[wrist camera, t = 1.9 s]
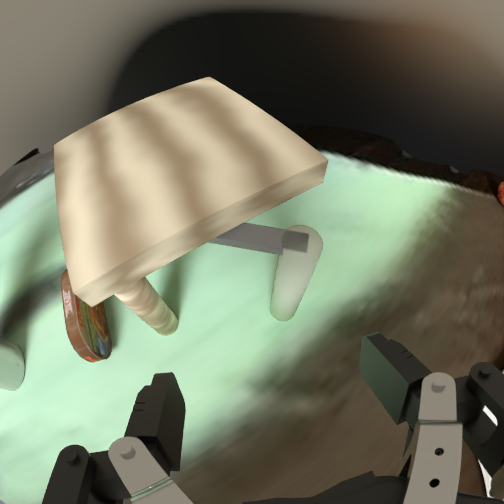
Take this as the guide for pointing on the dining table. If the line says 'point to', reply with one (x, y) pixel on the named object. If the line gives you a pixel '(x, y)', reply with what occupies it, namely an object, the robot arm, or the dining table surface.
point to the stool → (169, 187)
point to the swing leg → (281, 259)
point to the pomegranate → (501, 193)
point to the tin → (85, 325)
